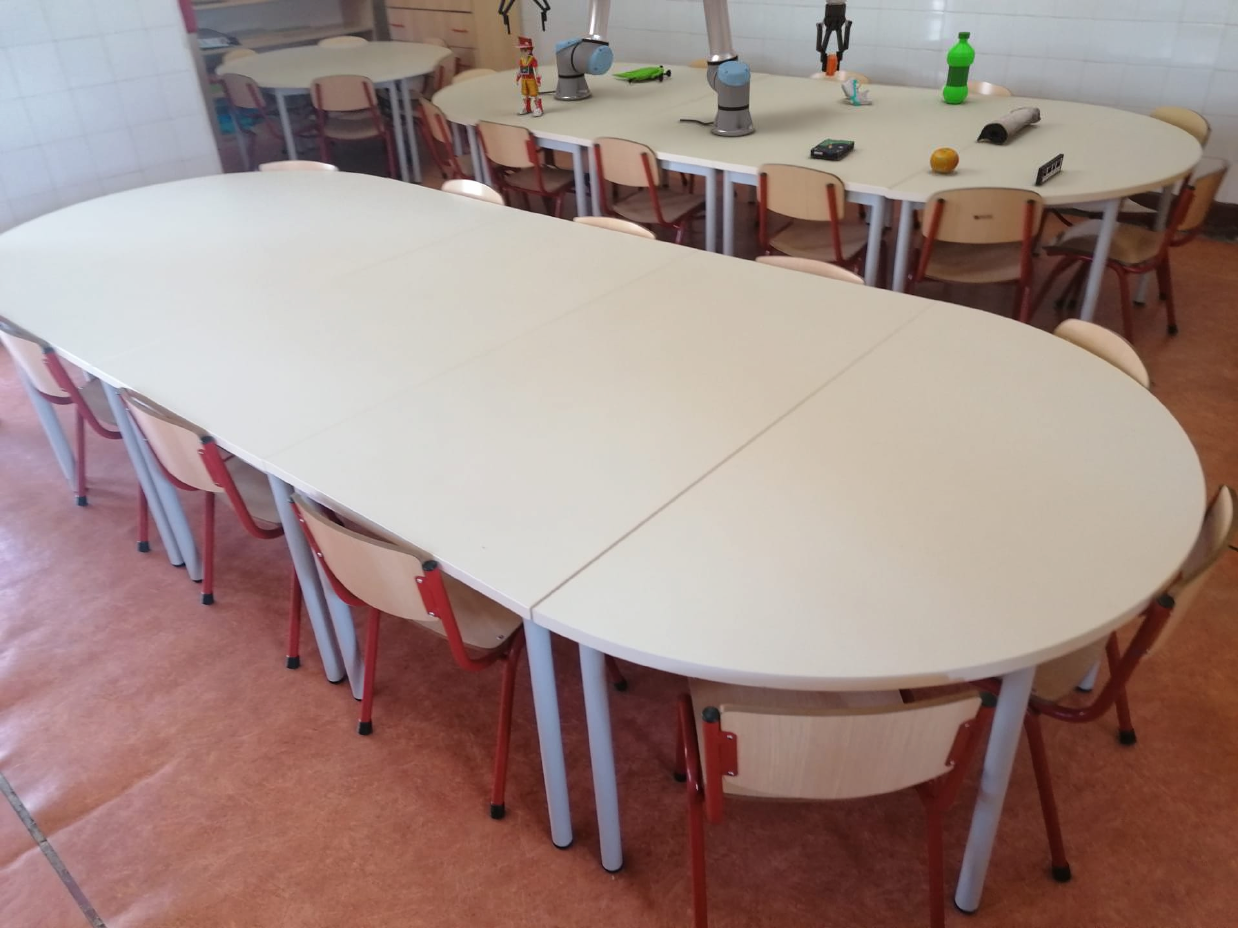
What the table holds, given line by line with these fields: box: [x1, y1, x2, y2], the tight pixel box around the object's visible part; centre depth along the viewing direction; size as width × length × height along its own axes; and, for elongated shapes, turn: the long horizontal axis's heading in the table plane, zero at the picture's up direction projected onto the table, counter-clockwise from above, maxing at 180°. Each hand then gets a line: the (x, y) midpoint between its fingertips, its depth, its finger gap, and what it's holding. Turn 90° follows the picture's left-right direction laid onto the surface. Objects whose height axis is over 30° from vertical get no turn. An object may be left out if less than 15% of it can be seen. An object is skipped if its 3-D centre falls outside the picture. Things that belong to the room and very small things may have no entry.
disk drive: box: [809, 138, 855, 161], centre depth 306 cm, size 10×3×15 cm
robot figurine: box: [825, 53, 838, 77], centre depth 341 cm, size 7×5×8 cm
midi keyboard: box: [1035, 153, 1065, 186], centre depth 273 cm, size 18×1×5 cm, turn 138°
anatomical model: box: [841, 76, 874, 106], centre depth 361 cm, size 15×10×10 cm
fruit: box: [929, 147, 960, 174], centre depth 283 cm, size 8×8×8 cm
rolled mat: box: [976, 106, 1042, 145], centre depth 314 cm, size 30×9×10 cm
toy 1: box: [514, 35, 544, 117], centre depth 366 cm, size 12×9×30 cm
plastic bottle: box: [942, 31, 976, 104], centre depth 348 cm, size 10×10×25 cm
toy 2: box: [611, 65, 672, 84], centre depth 420 cm, size 28×5×30 cm
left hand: (526, 32), depth 349 cm, fingers open, 13 cm apart
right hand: (830, 70), depth 342 cm, fingers closed on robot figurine, 5 cm apart
